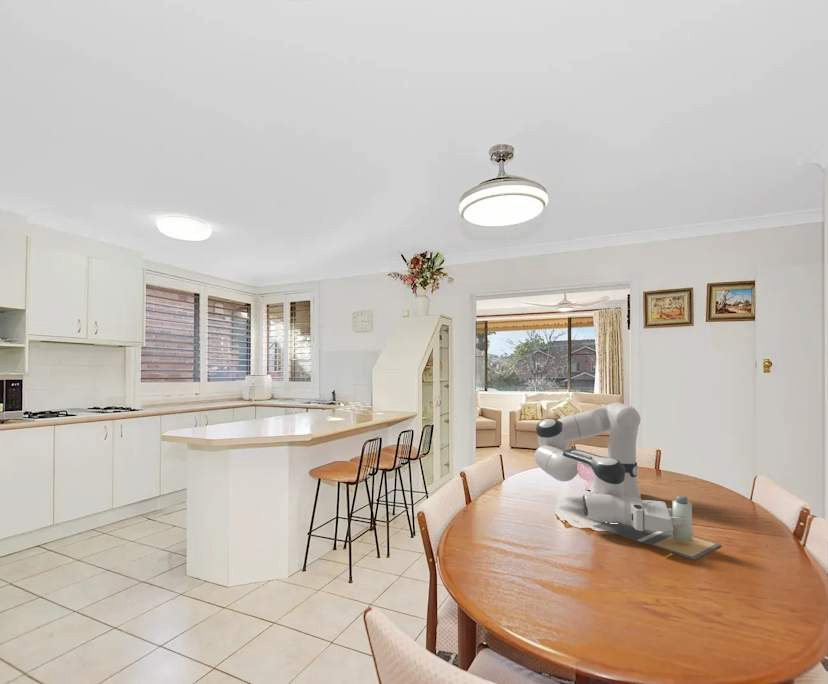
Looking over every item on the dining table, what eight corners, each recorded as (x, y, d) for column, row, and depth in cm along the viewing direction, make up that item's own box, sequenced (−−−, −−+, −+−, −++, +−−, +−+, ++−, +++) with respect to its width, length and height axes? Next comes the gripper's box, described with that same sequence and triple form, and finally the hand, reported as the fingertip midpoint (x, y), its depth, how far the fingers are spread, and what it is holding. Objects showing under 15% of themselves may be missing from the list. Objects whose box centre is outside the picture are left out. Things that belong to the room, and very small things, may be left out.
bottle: (669, 538, 142) (669, 496, 142) (677, 534, 145) (677, 493, 145) (687, 543, 138) (687, 500, 138) (695, 539, 141) (694, 497, 141)
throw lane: (593, 527, 156) (593, 526, 156) (621, 517, 167) (621, 515, 167) (694, 560, 130) (694, 558, 130) (720, 545, 141) (720, 544, 141)
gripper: (634, 512, 156) (681, 518, 151) (637, 532, 137) (690, 539, 132) (634, 493, 156) (681, 498, 151) (637, 511, 138) (690, 517, 132)
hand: (685, 518), depth 141 cm, fingers closed on bottle, 5 cm apart
